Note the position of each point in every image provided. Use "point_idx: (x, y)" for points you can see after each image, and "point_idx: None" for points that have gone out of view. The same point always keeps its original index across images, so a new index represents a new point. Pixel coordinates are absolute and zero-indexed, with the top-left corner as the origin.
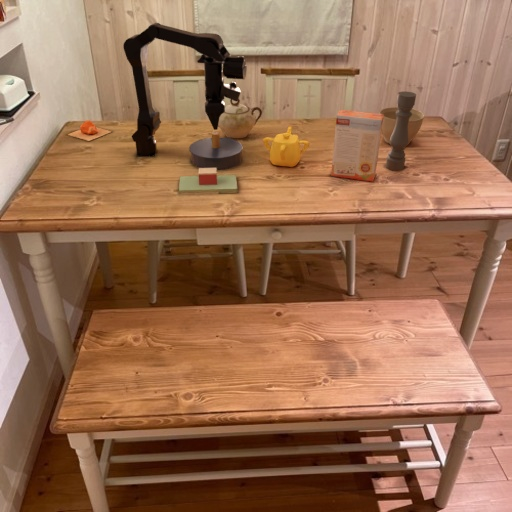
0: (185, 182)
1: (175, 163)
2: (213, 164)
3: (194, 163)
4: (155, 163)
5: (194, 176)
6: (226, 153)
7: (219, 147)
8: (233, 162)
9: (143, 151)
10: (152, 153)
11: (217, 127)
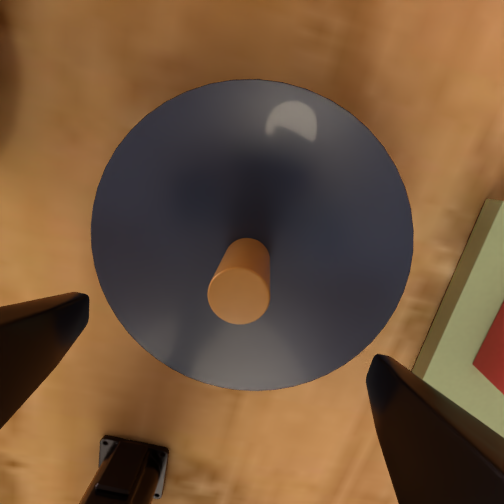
0: (470, 413)
1: (236, 394)
2: None
3: None
4: (219, 451)
5: (430, 374)
6: (361, 221)
7: (260, 242)
8: None
9: (152, 498)
10: (149, 460)
11: (410, 372)
